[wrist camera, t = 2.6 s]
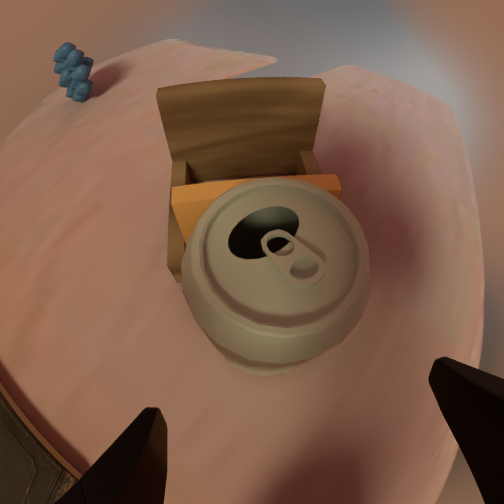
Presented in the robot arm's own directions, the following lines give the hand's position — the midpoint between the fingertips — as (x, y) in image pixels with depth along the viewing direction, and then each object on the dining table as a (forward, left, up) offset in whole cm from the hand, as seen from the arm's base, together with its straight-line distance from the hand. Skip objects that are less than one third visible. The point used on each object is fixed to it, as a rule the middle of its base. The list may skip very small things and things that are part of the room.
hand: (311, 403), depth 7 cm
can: (+5, 0, -12) cm, 13 cm away
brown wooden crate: (+14, 0, -11) cm, 18 cm away
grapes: (+43, +24, -12) cm, 51 cm away
